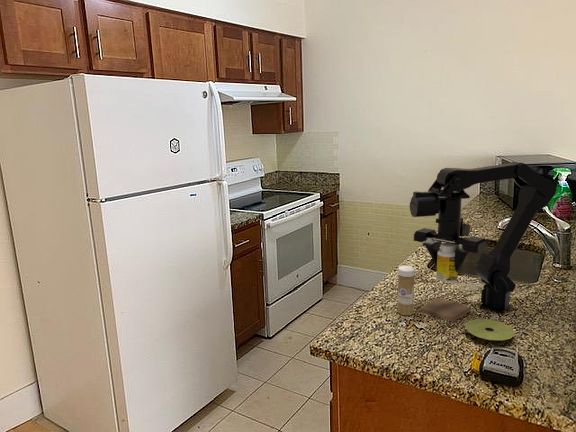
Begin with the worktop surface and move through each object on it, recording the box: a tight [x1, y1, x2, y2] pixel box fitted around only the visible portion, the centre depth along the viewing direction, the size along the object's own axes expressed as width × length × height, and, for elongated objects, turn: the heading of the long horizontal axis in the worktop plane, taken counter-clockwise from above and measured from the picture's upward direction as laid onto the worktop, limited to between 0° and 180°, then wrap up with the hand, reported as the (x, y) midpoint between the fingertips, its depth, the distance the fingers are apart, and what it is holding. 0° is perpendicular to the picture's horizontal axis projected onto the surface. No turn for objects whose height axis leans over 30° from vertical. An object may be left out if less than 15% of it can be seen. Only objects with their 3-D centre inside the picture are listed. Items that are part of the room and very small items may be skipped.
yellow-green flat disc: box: [464, 318, 516, 341], centre depth 108 cm, size 11×11×2 cm
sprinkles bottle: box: [396, 265, 416, 316], centre depth 121 cm, size 5×5×14 cm
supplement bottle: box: [435, 242, 458, 283], centre depth 120 cm, size 6×6×10 cm
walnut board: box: [419, 297, 472, 323], centre depth 123 cm, size 10×10×1 cm
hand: (447, 269), depth 120 cm, fingers closed on supplement bottle, 5 cm apart
